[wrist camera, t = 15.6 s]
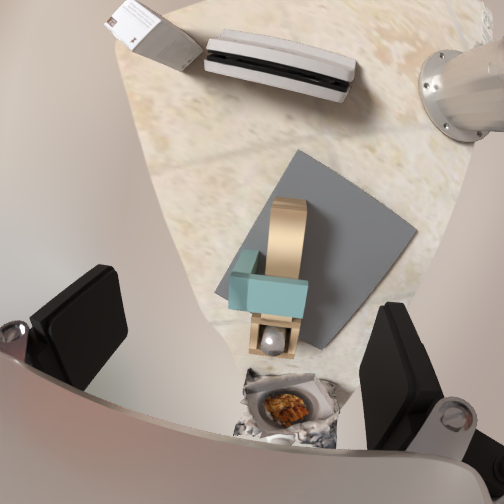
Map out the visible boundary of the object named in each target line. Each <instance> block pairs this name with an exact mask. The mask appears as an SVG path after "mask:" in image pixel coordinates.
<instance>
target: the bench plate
mask: <svg viewBox="0 0 504 504" xmlns="http://www.w3.org/2000/svg"><path fill="white" fill-rule="evenodd" d="M276 196H278V197H287V198H296V199H305V200H306V205H307V217H306V225H305V233H304V241H303V248H302V256H301V263H300V270H299V277H298V280H306V281H308V290H307V296H306V302H305V308H304V313H303V319H302V318H301V325H300V330H299V336H298V338H299V339H301V340H303V341H305V342H307V343H309V344H311V345H313V346H315V347H317V348H319V349H321V350H322V349H323V348H324V347H325V346H326V345H327V344H328V343H329V341H330V340H331V339H332V338H333V337H334V336H335V335H336V334H337V332H338V331H339V330H340V329H341V328H342V327H343V326H344V324H345V323H346V322H347V321H348V320H349V319H350V317H351V316H352V315H353V314H354V313H355V311H356V310H357V309H358V308H359V307H360V305H361V304H362V303H363V302H364V301H365V299H366V298H367V297H368V296H369V294H370V293H371V292H372V291H373V289H374V288H375V287H376V285H377V284H378V283H379V282H380V280H381V279H382V278H383V276H384V275H385V274H386V272H387V271H388V270H389V268H390V267H391V266H392V264H393V263H394V262H395V260H396V259H397V258H398V256H399V255H400V254H401V252H402V251H403V249H404V248H405V247H406V245H407V244H408V242H409V241H410V239H411V238H412V237H413V235H414V234H415V232H416V231H417V230H416V229H415V228H414V227H413V226H411V225H410V224H409V223H407V222H406V221H405V220H403V219H402V218H401V217H399V216H398V215H397V214H395V213H394V212H393V211H391V210H390V209H389V208H387V207H386V206H384V205H383V204H382V203H380V202H379V201H377V200H376V199H375V198H373V197H372V196H370V195H369V194H367V193H366V192H364V191H363V190H362V189H360V188H359V187H357V186H356V185H354V184H353V183H351V182H350V181H348V180H347V179H345V178H343V177H342V176H340V175H339V174H337V173H336V172H334V171H333V170H331V169H329V168H328V167H326V166H325V165H323V164H321V163H320V162H318V161H317V160H315V159H313V158H312V157H310V156H308V155H307V154H305V153H303V152H302V151H300V150H297V152H296V154H295V155H294V157H293V159H292V160H291V162H290V164H289V165H288V167H287V169H286V170H285V172H284V174H283V176H282V177H281V179H280V181H279V182H278V184H277V186H276V187H275V189H274V191H273V192H272V194H271V196H270V198H269V199H268V201H267V203H266V204H265V206H264V208H263V210H262V211H261V213H260V215H259V216H258V218H257V220H256V221H255V223H254V225H253V227H252V228H251V230H250V232H249V233H248V235H247V237H246V239H245V240H244V242H243V244H242V246H241V247H240V249H239V251H238V252H237V254H236V256H235V258H234V259H233V261H232V263H231V265H230V266H229V268H228V270H227V272H226V273H225V275H224V277H223V278H222V280H221V282H220V284H219V285H218V287H217V289H216V291H215V293H216V294H217V295H219V296H221V297H223V298H224V299H226V300H228V301H229V276H230V274H231V272H232V270H233V268H234V266H235V264H236V262H237V260H238V258H239V256H240V254H241V252H242V250H243V249H249V250H257V251H259V256H258V269H257V275H265V271H266V260H267V249H268V238H269V226H270V215H271V206H272V204H273V202H274V199H275V197H276ZM250 313H252V314H253V312H250Z"/></svg>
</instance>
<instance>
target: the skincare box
mask: <svg viewBox="0 0 504 504" xmlns="http://www.w3.org/2000/svg"><path fill="white" fill-rule="evenodd" d="M104 26H105V27H106V28H107V29H108V30H110V31H111V32H112V33H113V34H114V36H115V37H116V38H117V39H118V40H120V41H121V42H122V43H123V44H124V45H125V46H126V47H128V48H129V49H130V50H131V51H132V52H134V53H137V54H139V55H142V56H144V57H147V58H150V59H152V60H155V61H157V62H159V63H162V64H164V65H166V66H169V67H171V68H173V69H175V70H178V71H180V72H182V71H183V70H184V69H185V68H186V67H187V66H188V65H189V64H190V63H191V62H192V61H193V60H195V59H196V58H197V57H198V56H199V55H200V54H201V53H202V52H203V49H202V48H201V47H200V46H199V45H198V44H197V43H196V42H195V41H194V40H193V39H192V38H191V37H190V36H188V35H187V34H186V33H185V32H183V31H182V30H181V29H180V28H178V27H177V26H175V25H174V24H173V23H171V22H170V21H168V20H167V19H165V18H164V17H162V16H161V15H159V14H158V13H156V12H155V11H153V10H151V9H150V8H148V7H147V6H145V5H143V4H142V3H140V2H138V1H136V0H126V1H125V2H124V3H123V4H122V5H121V6H120V7H119V8H118V10H117V11H116V12H115V13H114V14H113V15H112V16H111V17H110V19H109V20H108V21H107V22H106V23H105V24H104Z"/></svg>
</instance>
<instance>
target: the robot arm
mask: <svg viewBox="0 0 504 504" xmlns="http://www.w3.org/2000/svg"><path fill="white" fill-rule="evenodd" d="M424 85H425V87H426V88H425V87H424ZM419 93H420V97H421V101H422V104H423V106H424V108H425V111H426V112H427V114H428V116H429V118H430V119H431V120H432V122H433V123H434V124H435V126H436V127H437V128H438V129H440V130H441V131H442V132H443V133H444V134H446V135H447V136H449V137H450V138H453V139H455V140H458V141H463V142H474V141H478V140H481V139H482V138H484V137H485V136H486V135H487V134H488V133H489V132H490V131H495V132H504V37H502V38H499V39H496V40H494V41H491V42H489V43H486V44H484V45H483V44H481V43H479V42H476V44H475V47H474V49H472V50H469V51H467V52H465V53H462V52H459V51H456V50H448V49H447V50H440V51H438V52H436V53H434V54H432V55H431V56H429V57H428V58H427V59H426V60H425V62H424V63H423V65H422V67H421V70H420V74H419ZM444 125H445V128H444ZM30 321H31V324H32V326H33V327H32V328H31V329H29V326H28V325H27V323H25V322H24V321H20V320H17V321H11V322H9V323H6V324H4V325H3V326H2V327H0V504H504V446H503V445H502V444H500V443H498V442H497V441H495V440H493V439H492V438H490V437H488V436H487V435H485V434H483V433H482V432H480V431H479V430H477V429H476V426H477V414H476V412H475V410H474V408H473V407H472V406H471V405H470V404H469V403H468V402H466V401H465V400H463V399H461V398H458V397H445V398H444V395H443V392H442V390H441V387H440V384H439V382H438V379H437V376H436V374H435V371H434V369H433V366H432V364H431V362H430V359H429V356H428V354H427V352H426V349H425V347H424V345H423V344H422V343H421V341H420V338H419V336H418V334H417V332H416V329H415V327H414V325H413V323H412V320H411V318H410V316H409V314H408V312H407V310H406V308H405V305H404V304H403V303H397V302H386V304H385V306H382V305H381V306H380V307H379V310H378V314H377V317H376V320H375V323H374V327H373V330H372V333H371V336H370V339H369V342H368V345H367V348H366V351H365V354H364V356H363V359H362V362H361V365H360V369H359V377H360V385H361V392H362V400H363V409H364V418H365V428H366V439H367V450H342V449H325V448H311V447H300V446H290V445H281V444H273V443H266V442H259V441H253V440H246V439H241V438H235V437H230V436H225V435H220V434H215V433H211V432H206V431H202V430H198V429H193V428H190V427H186V426H182V425H178V424H175V423H171V422H168V421H164V420H161V419H158V418H154V417H151V416H148V415H145V414H142V413H139V412H136V411H133V410H130V409H127V408H124V407H121V406H119V405H116V404H114V403H111V402H108V401H106V400H103V399H101V398H98V397H96V396H93V395H91V394H88V393H86V392H84V390H85V389H86V388H87V386H88V385H89V384H90V382H91V381H92V380H93V379H94V377H95V376H96V375H97V373H98V372H99V371H100V370H101V368H102V367H103V366H104V365H105V363H106V362H107V361H108V359H109V358H110V357H111V356H112V354H113V353H114V352H115V351H116V349H117V348H118V347H119V346H120V344H121V343H122V342H123V340H125V338H126V337H127V334H128V327H127V322H126V318H125V313H124V308H123V302H122V297H121V292H120V286H119V279H118V274H117V272H116V271H115V270H114V268H113V267H112V266H107V265H101V264H99V265H97V266H95V267H94V268H93V269H91V270H90V271H88V272H87V273H86V274H84V275H83V276H82V277H80V278H79V279H78V280H76V281H75V282H74V283H72V284H71V285H70V286H68V287H67V288H66V289H65V290H63V291H62V292H61V293H59V294H58V295H57V296H56V297H54V298H53V299H52V300H51V301H49V302H48V303H47V304H46V305H44V306H43V307H42V308H41V309H39V310H38V311H37V312H36V313H35V314H33V315H32V316H31V317H30Z"/></svg>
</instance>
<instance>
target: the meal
mask: <svg viewBox="0 0 504 504" xmlns="http://www.w3.org/2000/svg"><path fill="white" fill-rule="evenodd" d="M249 374H250V375H249ZM314 376H315V374H310V373H299V374H285V375H280V376H270V375H261V376H258V375H256V374H254V373H252V372H250V373H249V369H248V371H247V375H246V379H245V384H244V387H243V395H244V397H245V398H244V399H243V400H242V401H241V402H240V403H242V404H245V405H247V406H248V407H247V409H246V411H245V413H244V415H243V417H241V419H240V420H239V421H238V423H237V424H236V426H235V430H234V434H233V436H234V435H237V436H238V435H252V436H255V435H257V436H258V437H259V438H263V437H268V436H272V435H276V434H282V435H296V436H295V440H296V441H298V442H299V443H301V444H311V445H313V447H318V448H325V449H336V441H337V434H336V431H337V418H338V415H339V413H340V407H339V405H338V401H337V399H336V398H337V397H338V396H336V391H335V388H336V384H334V383H331V382H329V381H324V380H318V379H316V377H314ZM327 392H328V393H329V394H331V395H332V396H334V397H333V398H331V397H330V396H329V394H328V393H327ZM334 403H335V404H336V406H337V407H338V410H337V411H335V410H334V409H333V408H334Z"/></svg>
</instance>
